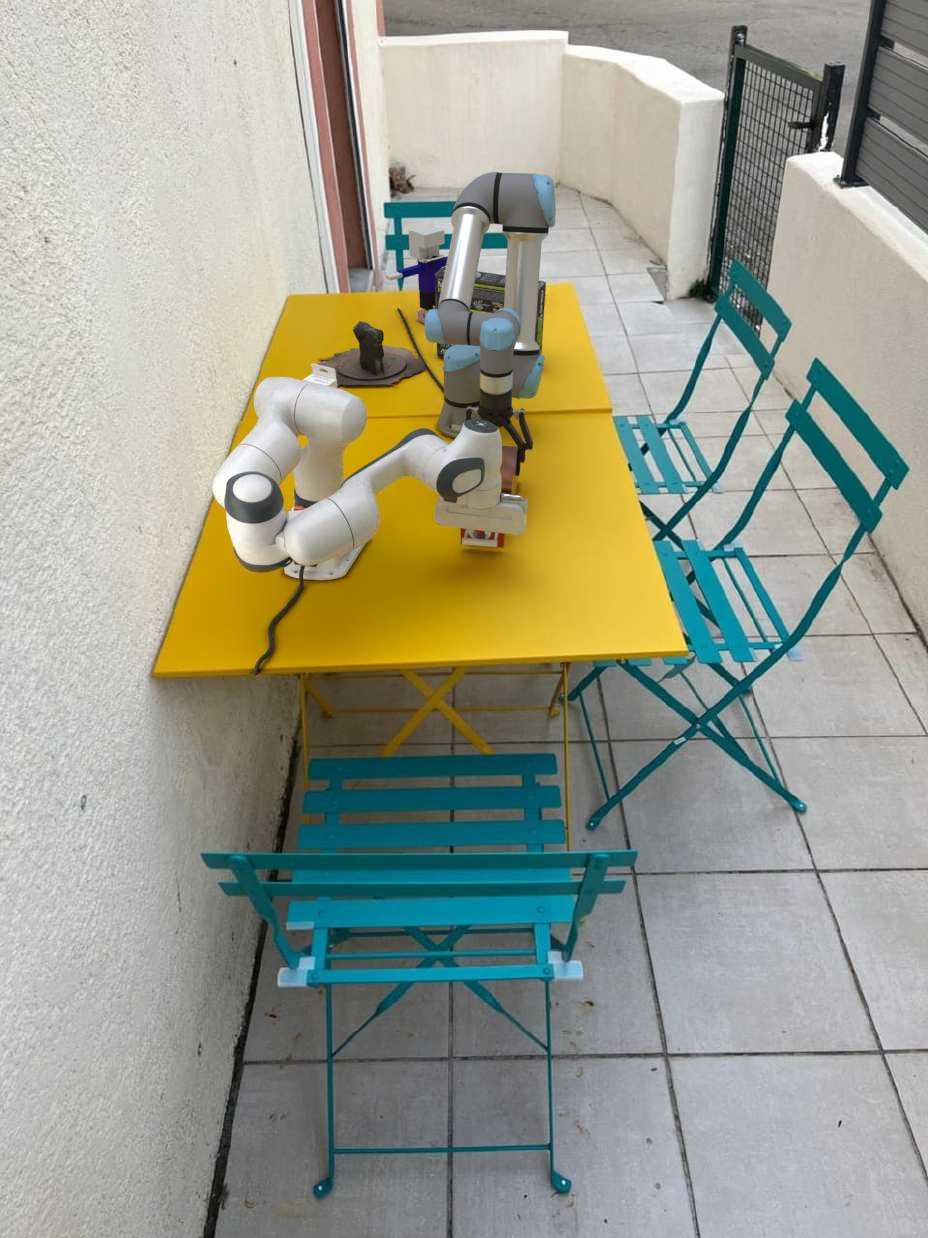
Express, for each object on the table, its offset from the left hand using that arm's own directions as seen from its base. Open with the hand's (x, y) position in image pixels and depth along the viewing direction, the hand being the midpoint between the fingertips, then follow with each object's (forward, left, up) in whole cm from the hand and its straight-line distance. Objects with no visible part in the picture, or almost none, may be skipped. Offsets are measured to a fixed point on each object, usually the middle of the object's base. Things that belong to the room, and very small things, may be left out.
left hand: (480, 543), depth 198 cm
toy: (+138, +28, -5) cm, 141 cm away
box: (+106, +5, -5) cm, 106 cm away
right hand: (+29, -1, +1) cm, 29 cm away
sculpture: (+98, +42, -5) cm, 107 cm away
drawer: (+10, 0, -3) cm, 10 cm away
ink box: (+65, +50, -5) cm, 82 cm away
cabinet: (+24, -1, -5) cm, 24 cm away
